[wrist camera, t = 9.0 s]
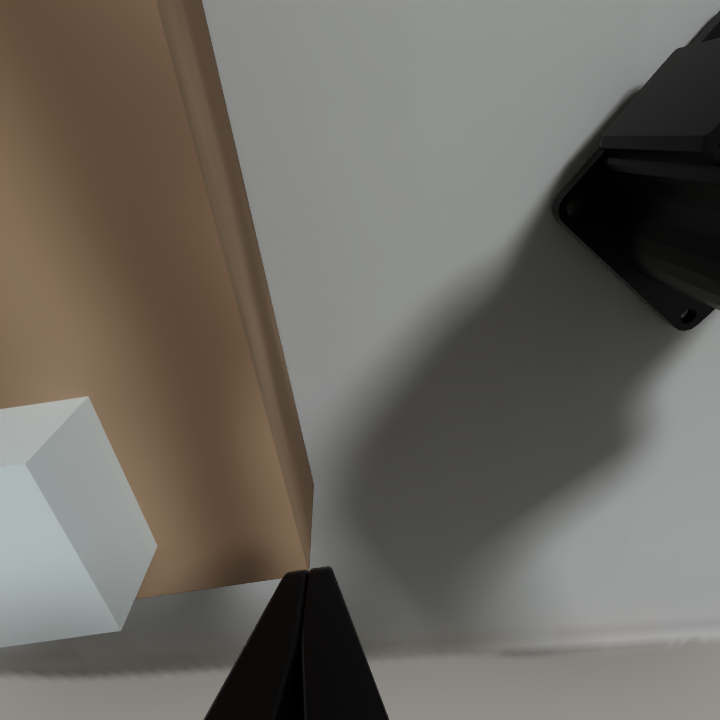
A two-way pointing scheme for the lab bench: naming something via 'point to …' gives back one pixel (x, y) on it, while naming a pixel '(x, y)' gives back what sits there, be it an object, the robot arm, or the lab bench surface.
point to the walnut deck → (147, 281)
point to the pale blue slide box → (65, 526)
